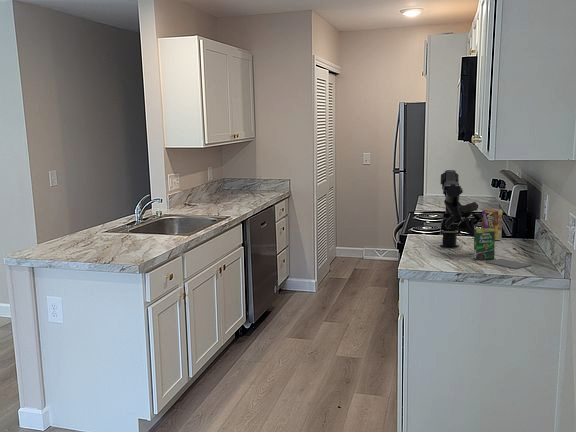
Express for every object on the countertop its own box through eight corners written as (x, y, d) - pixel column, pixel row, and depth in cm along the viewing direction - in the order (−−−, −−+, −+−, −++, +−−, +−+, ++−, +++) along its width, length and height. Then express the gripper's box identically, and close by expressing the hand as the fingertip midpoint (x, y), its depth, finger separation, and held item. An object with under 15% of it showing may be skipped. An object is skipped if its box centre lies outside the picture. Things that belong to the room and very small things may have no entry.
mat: (485, 262, 220) (485, 261, 220) (501, 259, 225) (501, 258, 225) (515, 269, 208) (515, 268, 208) (531, 265, 213) (531, 264, 213)
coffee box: (475, 259, 226) (476, 229, 224) (473, 258, 228) (473, 228, 227) (494, 259, 225) (495, 228, 224) (492, 258, 228) (493, 227, 227)
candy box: (501, 240, 268) (503, 209, 266) (497, 241, 265) (498, 210, 263) (485, 237, 275) (486, 208, 273) (480, 238, 272) (481, 209, 270)
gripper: (450, 197, 227) (470, 226, 219) (480, 194, 237) (501, 222, 229) (436, 214, 235) (455, 242, 227) (466, 210, 244) (485, 238, 236)
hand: (474, 236), depth 230 cm, fingers closed
